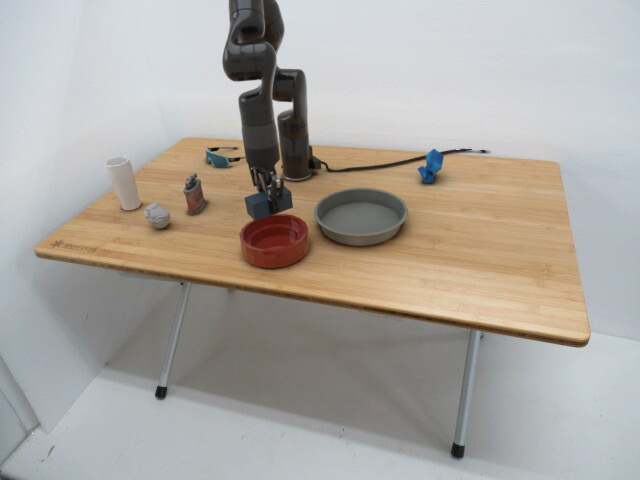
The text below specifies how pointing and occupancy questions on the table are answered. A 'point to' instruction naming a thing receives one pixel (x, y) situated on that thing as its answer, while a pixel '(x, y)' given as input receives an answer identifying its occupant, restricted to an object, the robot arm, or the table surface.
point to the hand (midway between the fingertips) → (270, 208)
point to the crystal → (431, 165)
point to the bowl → (274, 240)
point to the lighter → (194, 194)
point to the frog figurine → (157, 215)
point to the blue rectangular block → (266, 204)
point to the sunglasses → (220, 157)
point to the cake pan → (360, 215)
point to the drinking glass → (123, 182)
